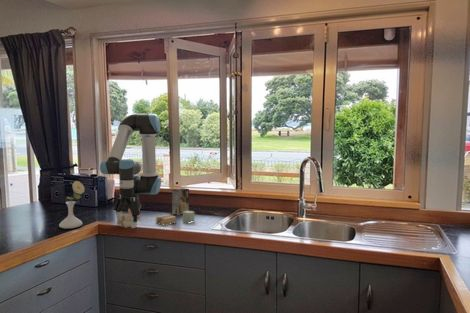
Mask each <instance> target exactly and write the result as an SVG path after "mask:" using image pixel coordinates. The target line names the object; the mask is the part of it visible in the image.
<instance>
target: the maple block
mask: <svg viewBox="0 0 470 313" xmlns="http://www.w3.org/2000/svg"><path fill="white" fill-rule="evenodd" d="M119 226H120V227H123V228H129V227H132V215H131V214H128V213H126V214H122V215H120V224H119Z"/></svg>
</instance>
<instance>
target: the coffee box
mask: <svg viewBox="0 0 470 313" xmlns="http://www.w3.org/2000/svg"><path fill="white" fill-rule="evenodd" d="M171 195H172V197H171V205H172V206H171V210H172V214H171V215H174V214H177V215H176V216H178V215H179V216H181V215H180V214H183V212H185V211H190V206H189V205H190V190H189V188H186V187H185V188H184V187H182V188H181V187H180V188H176V189H175V188H174V189H172V190H171Z"/></svg>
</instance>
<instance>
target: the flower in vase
mask: <svg viewBox="0 0 470 313" xmlns="http://www.w3.org/2000/svg"><path fill="white" fill-rule="evenodd" d="M71 187H72V191H74V192H73V193H74V194H73V197H71V196H70V197H69V196H66V199H68V200H70V201H66V202H65V204H66V206H67V209H68V211H67V212H68V214H67V216H66V217H65V218H64V219H62V221H61V222H60V223H59V224H58V226H59V228H61V229H65V230H66V229H75V228H79V227H81V226H82V225H83V221H82V220H81V219H79V217H78V218H77V217H76V216H75V214H74V206H75V204H76V201H74V200H73V199H74V198H75V199H77V200H78V199H81V197H82V196H81V195H83V193H85V190H86V189H85V186H84V184H83V183H81V181H79V180H75V181H73V182H72V185H71Z"/></svg>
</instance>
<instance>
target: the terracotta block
mask: <svg viewBox="0 0 470 313" xmlns="http://www.w3.org/2000/svg"><path fill="white" fill-rule="evenodd" d="M140 211H141V209H139V212H140ZM140 213H141V212H140ZM127 214H131V215H132V213H131V211H130V209H128V211H127ZM140 217H141V214H140V215H137V220H140V219H141V218H140ZM139 218H140V219H139Z"/></svg>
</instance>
